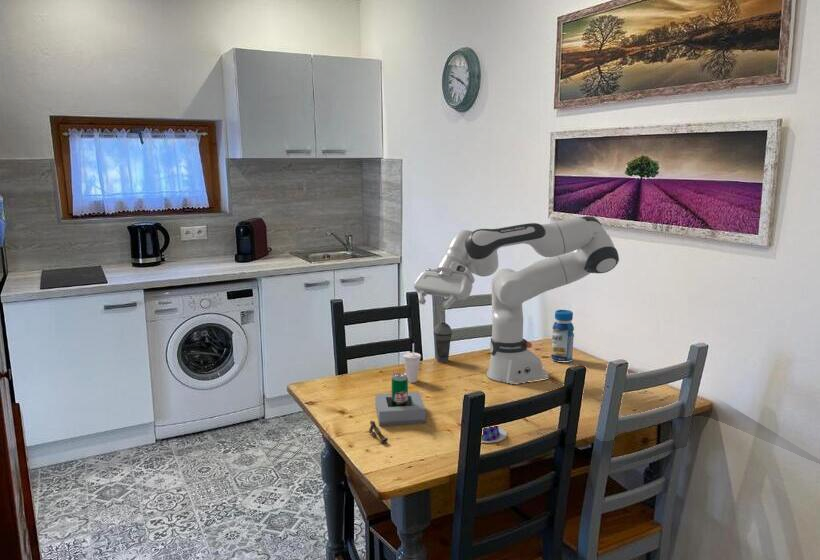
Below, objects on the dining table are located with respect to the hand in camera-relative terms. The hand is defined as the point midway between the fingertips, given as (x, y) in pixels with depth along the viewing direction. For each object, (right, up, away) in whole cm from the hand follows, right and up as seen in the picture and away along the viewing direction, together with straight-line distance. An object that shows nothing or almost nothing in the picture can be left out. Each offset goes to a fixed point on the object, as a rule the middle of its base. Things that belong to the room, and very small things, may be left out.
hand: (432, 305), depth 195 cm
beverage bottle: (+53, -24, +44) cm, 73 cm away
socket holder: (-11, -34, -7) cm, 36 cm away
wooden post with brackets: (-17, -37, -24) cm, 47 cm away
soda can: (-11, -33, -8) cm, 35 cm away
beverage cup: (+5, -24, +43) cm, 50 cm away
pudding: (+15, -37, -21) cm, 45 cm away
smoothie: (-7, -28, +22) cm, 36 cm away
